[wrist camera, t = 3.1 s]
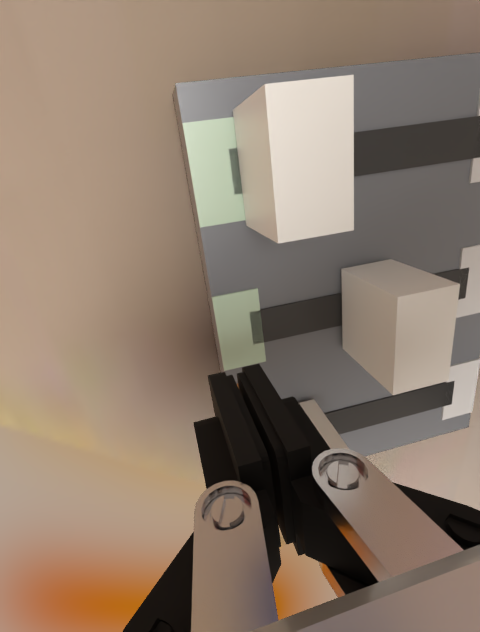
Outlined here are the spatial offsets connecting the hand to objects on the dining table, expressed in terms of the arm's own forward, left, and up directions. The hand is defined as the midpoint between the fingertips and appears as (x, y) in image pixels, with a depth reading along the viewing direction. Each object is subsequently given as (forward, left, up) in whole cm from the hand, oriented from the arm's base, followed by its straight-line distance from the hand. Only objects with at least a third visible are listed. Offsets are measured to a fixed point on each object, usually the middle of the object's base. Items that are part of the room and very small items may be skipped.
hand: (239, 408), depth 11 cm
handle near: (-3, -7, -5) cm, 9 cm away
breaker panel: (-7, 0, -7) cm, 10 cm away
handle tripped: (-7, 0, -5) cm, 8 cm away
